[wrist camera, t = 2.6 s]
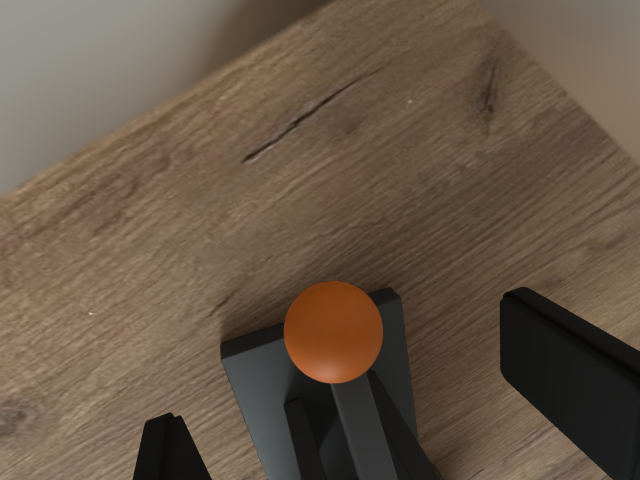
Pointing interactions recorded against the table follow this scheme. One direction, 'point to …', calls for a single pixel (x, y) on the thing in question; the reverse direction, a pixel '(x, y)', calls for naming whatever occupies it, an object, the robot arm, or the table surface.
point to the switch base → (323, 404)
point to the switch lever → (343, 364)
